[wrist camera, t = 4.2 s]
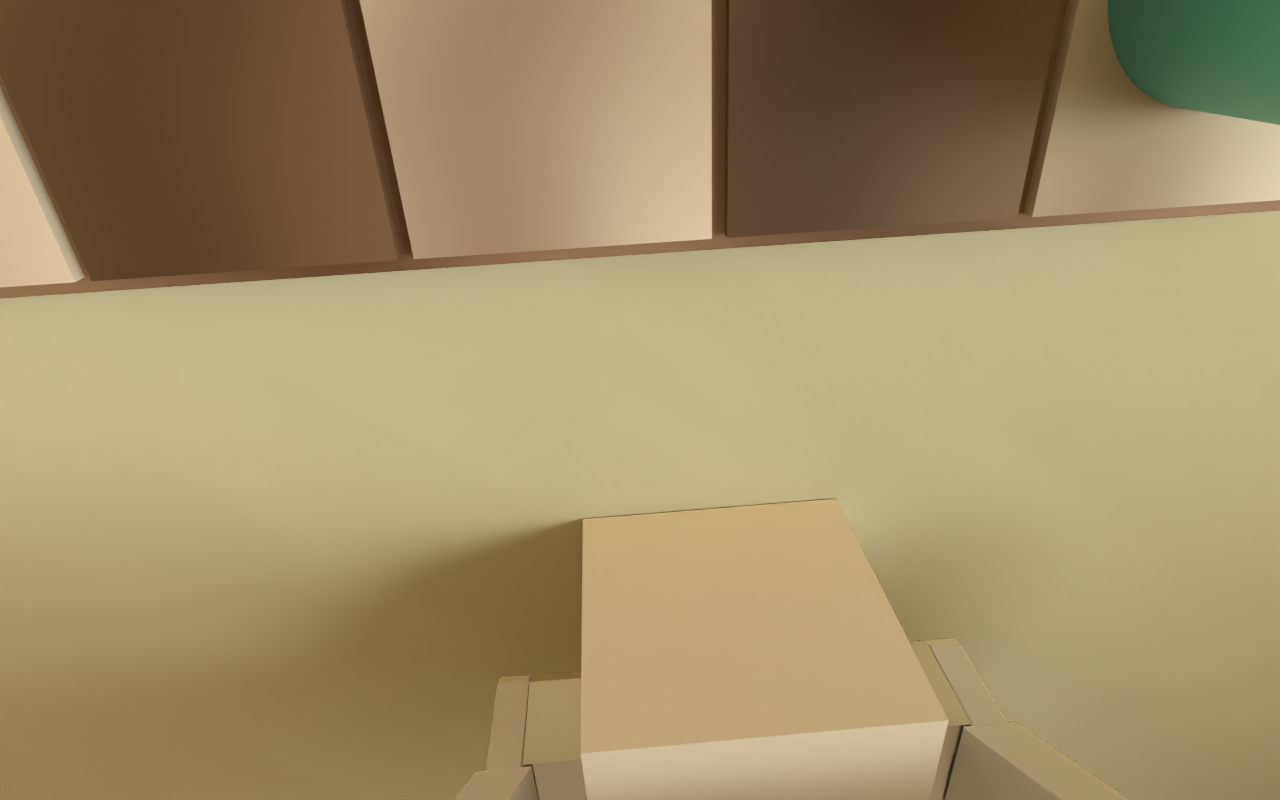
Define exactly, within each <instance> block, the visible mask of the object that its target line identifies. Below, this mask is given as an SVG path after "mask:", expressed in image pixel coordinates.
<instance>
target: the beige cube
mask: <svg viewBox="0 0 1280 800" xmlns="http://www.w3.org/2000/svg"><path fill="white" fill-rule="evenodd" d="M948 721H949V720H948V718H947V716H946V714H945V712H944V710H943V708H942V706H941V704H940V702H939V700H938V698H937V696H936V694H935V692H934V690H933V688H932V686H931V684H930V682H929V680H928V678H927V676H926V674H925V672H924V670H923V668H922V666H921V664H920V662H919V660H918V658H917V656H916V655H915V653H914V651H913V649H912V647H911V645H910V643H909V641H908V639H907V637H906V635H905V633H904V631H903V629H902V627H901V625H900V623H899V621H898V619H897V617H896V615H895V613H894V611H893V609H892V607H891V605H890V603H889V601H888V599H887V597H886V595H885V593H884V591H883V589H882V587H881V585H880V583H879V581H878V579H877V577H876V575H875V573H874V571H873V570H872V568H871V566H870V564H869V562H868V560H867V558H866V556H865V554H864V552H863V550H862V548H861V546H860V544H859V542H858V540H857V538H856V536H855V534H854V532H853V530H852V528H851V526H850V524H849V522H848V520H847V518H846V516H845V514H844V512H843V510H842V508H841V506H840V504H839V502H838V500H837V499H827V500H815V501H802V502H790V503H777V504H765V505H753V506H740V507H728V508H715V509H703V510H691V511H678V512H666V513H653V514H641V515H629V516H616V517H604V518H591V519H583V547H582V654H581V760H582V767H583V774H584V781H585V788H586V795H587V800H930V796H931V792H932V788H933V784H934V780H935V775H936V771H937V767H938V763H939V759H940V755H941V750H942V746H943V742H944V738H945V734H946V730H947V725H948Z"/></svg>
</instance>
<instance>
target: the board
mask: <svg viewBox="0 0 1280 800" xmlns="http://www.w3.org/2000/svg"><path fill="white" fill-rule="evenodd" d="M1107 6H1108V0H0V298H11V297H25V296H40V295H54V294H69V293H83V292H98V291H113V290H127V289H142V288H156V287H171V286H185V285H200V284H215V283H229V282H244V281H258V280H273V279H287V278H302V277H317V276H331V275H346V274H360V273H375V272H389V271H404V270H418V269H433V268H448V267H462V266H477V265H491V264H506V263H520V262H535V261H550V260H564V259H579V258H593V257H608V256H622V255H637V254H652V253H666V252H681V251H695V250H710V249H724V248H739V247H753V246H768V245H783V244H797V243H812V242H826V241H841V240H855V239H870V238H885V237H899V236H914V235H928V234H943V233H957V232H972V231H987V230H1001V229H1016V228H1030V227H1045V226H1059V225H1074V224H1088V223H1103V222H1118V221H1132V220H1147V219H1161V218H1176V217H1190V216H1205V215H1220V214H1234V213H1249V212H1263V211H1278V210H1280V125H1276V124H1271V123H1265V122H1259V121H1253V120H1247V119H1241V118H1236V117H1230V116H1224V115H1218V114H1212V113H1206V112H1201V111H1195V110H1189V109H1183V108H1177V107H1172V106H1169V105H1167V104H1164V103H1161V102H1158V101H1157V100H1155V99H1153V98H1151V97H1150V96H1148V95H1146V94H1145V93H1144V92H1143V91H1141V90H1140V89H1139V88H1138V87H1137V86H1135V85H1134V83H1133V82H1132V81H1131V80H1130V78H1129V77H1128V76H1127V75H1126V73H1125V72H1124V70H1123V68H1122V66H1121V65H1120V63H1119V61H1118V59H1117V56H1116V53H1115V50H1114V48H1113V45H1112V41H1111V36H1110V31H1109V24H1108V7H1107Z"/></svg>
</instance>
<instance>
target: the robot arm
mask: <svg viewBox="0 0 1280 800" xmlns="http://www.w3.org/2000/svg"><path fill="white" fill-rule="evenodd" d="M909 643H910V645H911V647H912V649H913V651H914V653H915V655H916V656H917V658H918V660H919V662H920V664H921V666H922V668H923V670H924V672H925V674H926V676H927V678H928V680H929V682H930V684H931V686H932V688H933V690H934V692H935V694H936V696H937V698H938V700H939V702H940V704H941V706H942V708H943V710H944V712H945V714H946V716H947V718H948V720H949V721H948V725H947V730H946V734H945V738H944V742H943V746H942V750H941V755H940V759H939V763H938V767H937V771H936V775H935V780H934V784H933V788H932V792H931V796H930V800H1128V799H1127V798H1125V797H1124V796H1123V795H1121V794H1120V793H1118V792H1117V791H1115V790H1114V789H1112V788H1111V787H1110V786H1108V785H1107V784H1105V783H1104V782H1102V781H1101V780H1099V779H1098V778H1097V777H1095V776H1094V775H1092V774H1091V773H1089V772H1088V771H1086V770H1085V769H1084V768H1082V767H1081V766H1079V765H1078V764H1076V763H1075V762H1073V761H1072V760H1070V759H1069V758H1068V757H1066V756H1065V755H1063V754H1062V753H1060V752H1059V751H1057V750H1056V749H1055V748H1053V747H1052V746H1050V745H1049V744H1047V743H1046V742H1044V741H1043V740H1042V739H1040V738H1039V737H1037V736H1036V735H1034V734H1033V733H1031V732H1030V731H1029V730H1027V729H1026V728H1024V727H1023V726H1021V725H1020V724H1018V723H1017V722H1006V720H1005V718H1004V716H1003V715H1002V713H1001V711H1000V710H999V708H998V706H997V705H996V703H995V701H994V700H993V698H992V696H991V695H990V693H989V691H988V690H987V688H986V686H985V685H984V683H983V681H982V680H981V678H980V676H979V674H978V673H977V671H976V669H975V668H974V666H973V664H972V663H971V661H970V659H969V658H968V656H967V654H966V653H965V651H964V649H963V648H962V646H961V644H960V643H959V642H958V641H957V640H956V639H954V638H948V639H937V640H925V641H920V640H919V641H909ZM454 800H587V795H586V788H585V781H584V774H583V767H582V760H581V672H565V673H548V674H532V675H521V676H507V677H500V679H499V682H498V684H497V688H496V695H495V702H494V710H493V717H492V724H491V732H490V739H489V747H488V754H487V761H486V769H485V770H481V771H476V772H475V773H474V774H473V776H472V777H471V778H470V780H469V781H468V782H467V783H466V785H465V786H464V787H463V788H462V790H461V791H460V792H459V794H458V795H457V796H456V797H455V799H454Z"/></svg>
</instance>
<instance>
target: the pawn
mask: <svg viewBox="0 0 1280 800" xmlns="http://www.w3.org/2000/svg"><path fill="white" fill-rule="evenodd" d="M1107 7H1108V24H1109V31H1110V36H1111V41H1112V45H1113V48H1114V50H1115V53H1116V56H1117V59H1118V61H1119V63H1120V65H1121V66H1122V68H1123V70H1124V72H1125V73H1126V75H1127V76H1128V77H1129V78H1130V80H1131V81H1132V82H1133V83H1134V85H1135V86H1137V87H1138V88H1139V89H1140V90H1141V91H1143V92H1144V93H1145V94H1146V95H1148V96H1150V97H1151V98H1153V99H1155V100H1157V101H1158V102H1161V103H1164V104H1167V105H1169V106H1172V107H1177V108H1183V109H1189V110H1195V111H1201V112H1206V113H1212V114H1218V115H1224V116H1230V117H1236V118H1241V119H1247V120H1253V121H1259V122H1265V123H1271V124H1276V125H1280V0H1108V6H1107Z"/></svg>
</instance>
